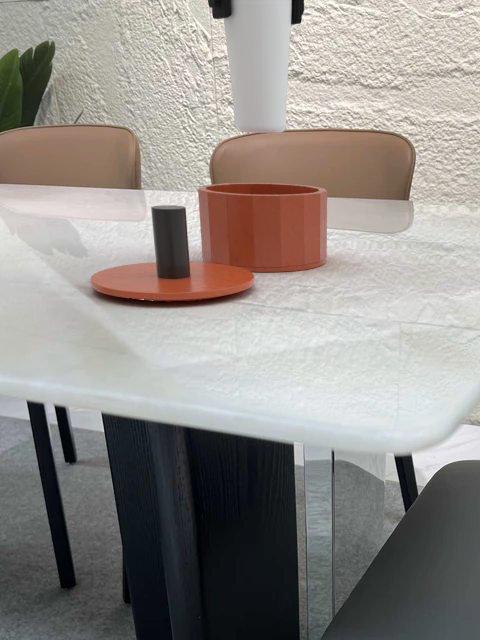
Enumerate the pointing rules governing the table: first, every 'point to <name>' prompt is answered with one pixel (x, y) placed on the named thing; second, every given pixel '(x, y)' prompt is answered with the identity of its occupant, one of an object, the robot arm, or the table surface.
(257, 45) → the drinking glass
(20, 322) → the table surface
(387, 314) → the table surface
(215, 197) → the pot
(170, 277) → the lid
